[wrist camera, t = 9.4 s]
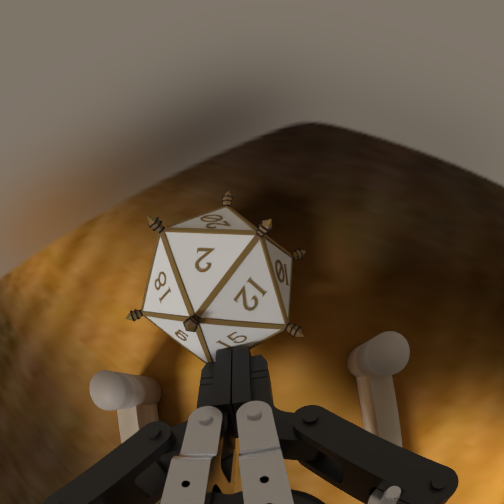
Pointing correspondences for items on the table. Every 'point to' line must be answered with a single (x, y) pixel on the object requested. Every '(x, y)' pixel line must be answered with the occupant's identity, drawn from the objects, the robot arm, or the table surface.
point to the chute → (358, 363)
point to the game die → (218, 283)
